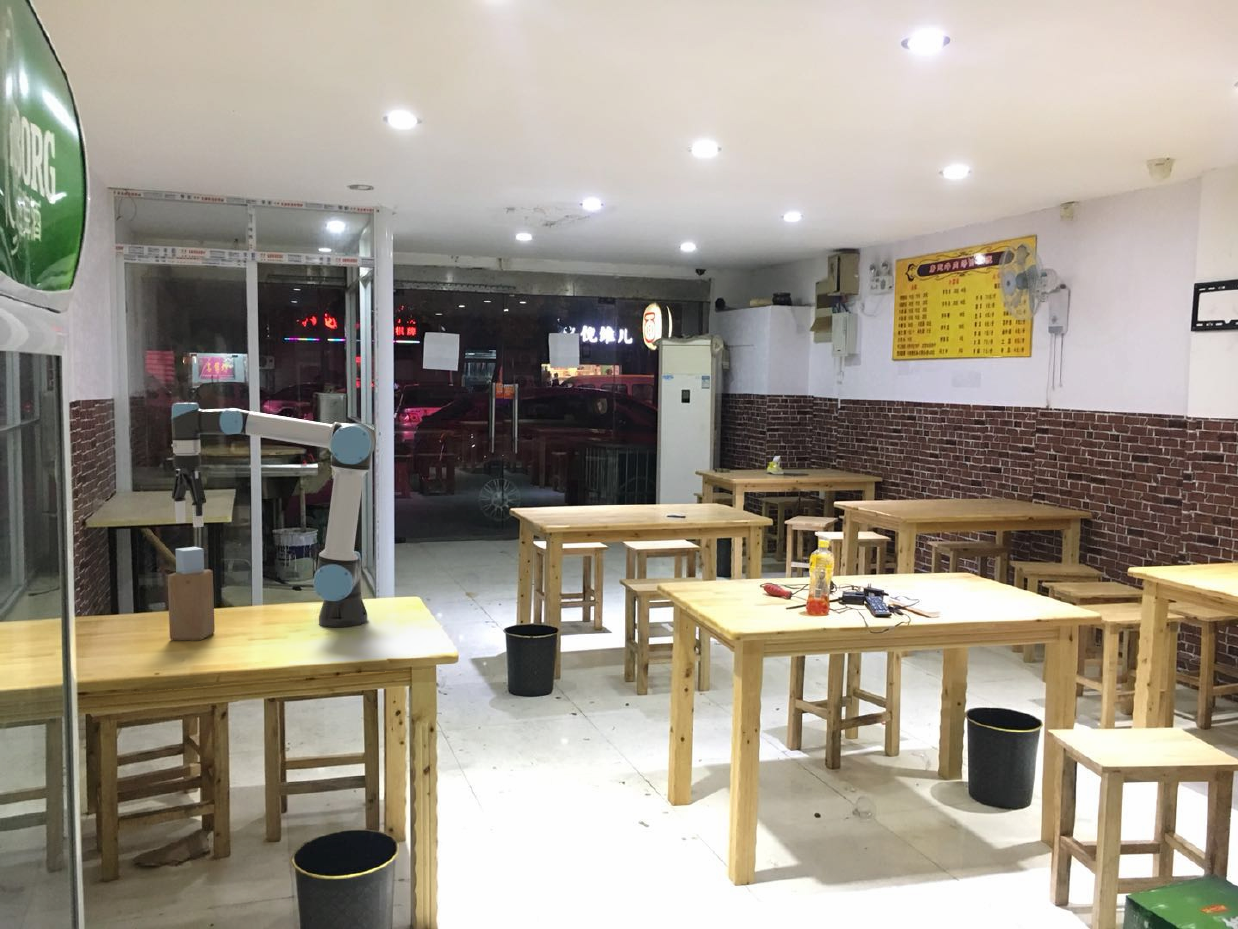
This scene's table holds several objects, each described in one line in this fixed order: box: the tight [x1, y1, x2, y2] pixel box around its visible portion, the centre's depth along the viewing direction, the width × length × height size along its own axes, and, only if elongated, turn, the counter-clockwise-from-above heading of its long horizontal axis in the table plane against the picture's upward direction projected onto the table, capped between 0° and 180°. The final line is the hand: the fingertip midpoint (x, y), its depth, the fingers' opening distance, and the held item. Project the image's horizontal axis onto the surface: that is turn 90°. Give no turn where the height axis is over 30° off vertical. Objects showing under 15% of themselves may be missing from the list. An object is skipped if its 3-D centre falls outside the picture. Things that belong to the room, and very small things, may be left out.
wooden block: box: [167, 568, 216, 641], centre depth 295 cm, size 10×10×20 cm
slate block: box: [175, 546, 205, 574], centre depth 294 cm, size 6×6×7 cm
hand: (189, 524), depth 293 cm, fingers open, 13 cm apart
